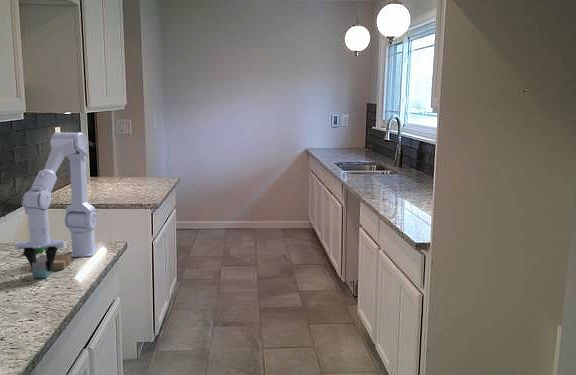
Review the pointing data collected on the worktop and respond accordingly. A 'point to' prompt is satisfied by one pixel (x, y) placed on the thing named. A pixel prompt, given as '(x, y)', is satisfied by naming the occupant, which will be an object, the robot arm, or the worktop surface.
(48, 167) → the robot arm
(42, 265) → the block
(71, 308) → the worktop surface
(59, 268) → the tan flat block
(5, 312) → the worktop surface
